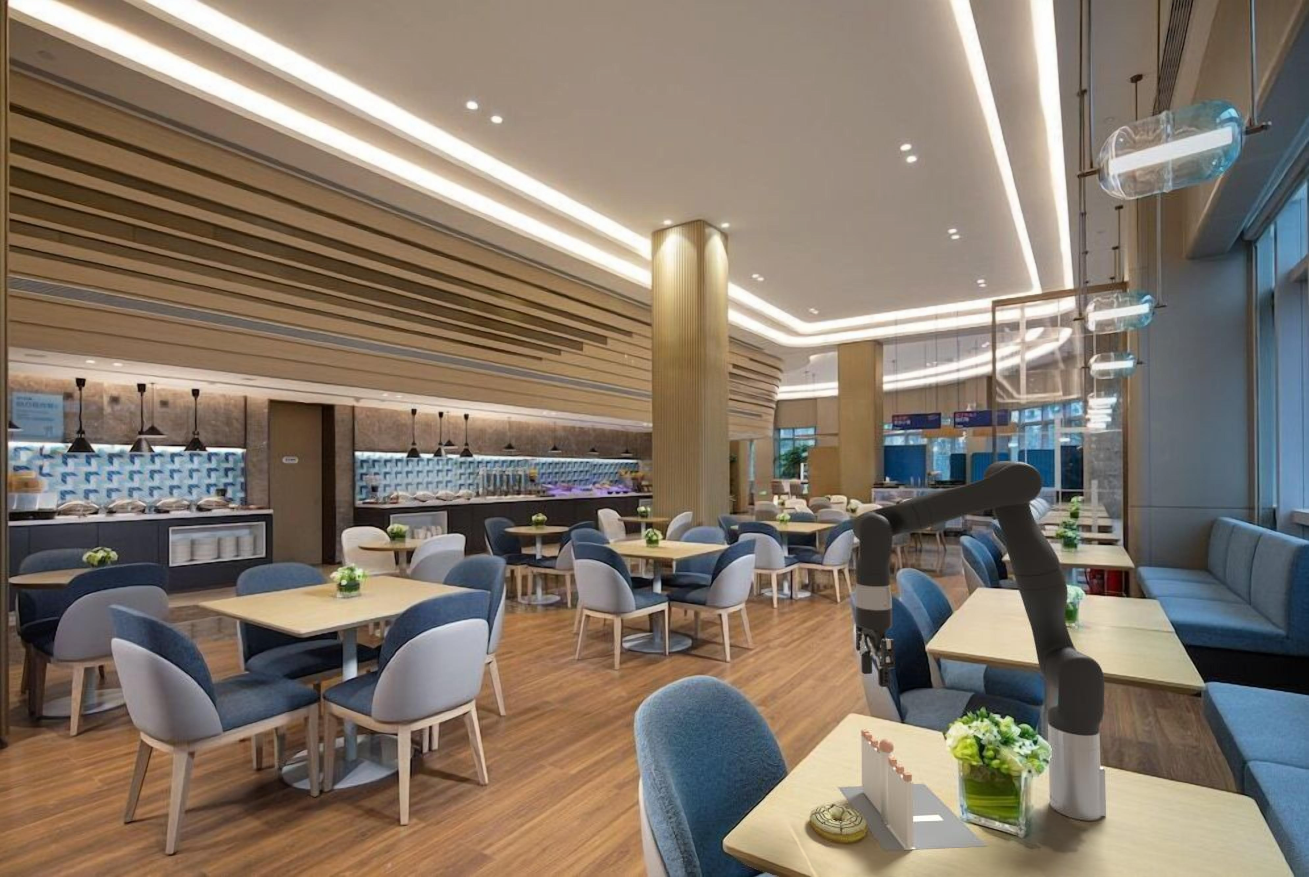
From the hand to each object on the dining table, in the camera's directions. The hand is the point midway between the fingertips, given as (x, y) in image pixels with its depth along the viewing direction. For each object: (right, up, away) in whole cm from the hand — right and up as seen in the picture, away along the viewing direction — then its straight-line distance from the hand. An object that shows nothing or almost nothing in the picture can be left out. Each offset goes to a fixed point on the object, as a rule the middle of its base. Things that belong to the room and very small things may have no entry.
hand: (875, 679), depth 141 cm
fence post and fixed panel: (0, -25, -14) cm, 29 cm away
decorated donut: (-12, -26, -12) cm, 31 cm away
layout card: (+4, -26, -7) cm, 27 cm away
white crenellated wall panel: (-1, -25, -3) cm, 25 cm away
